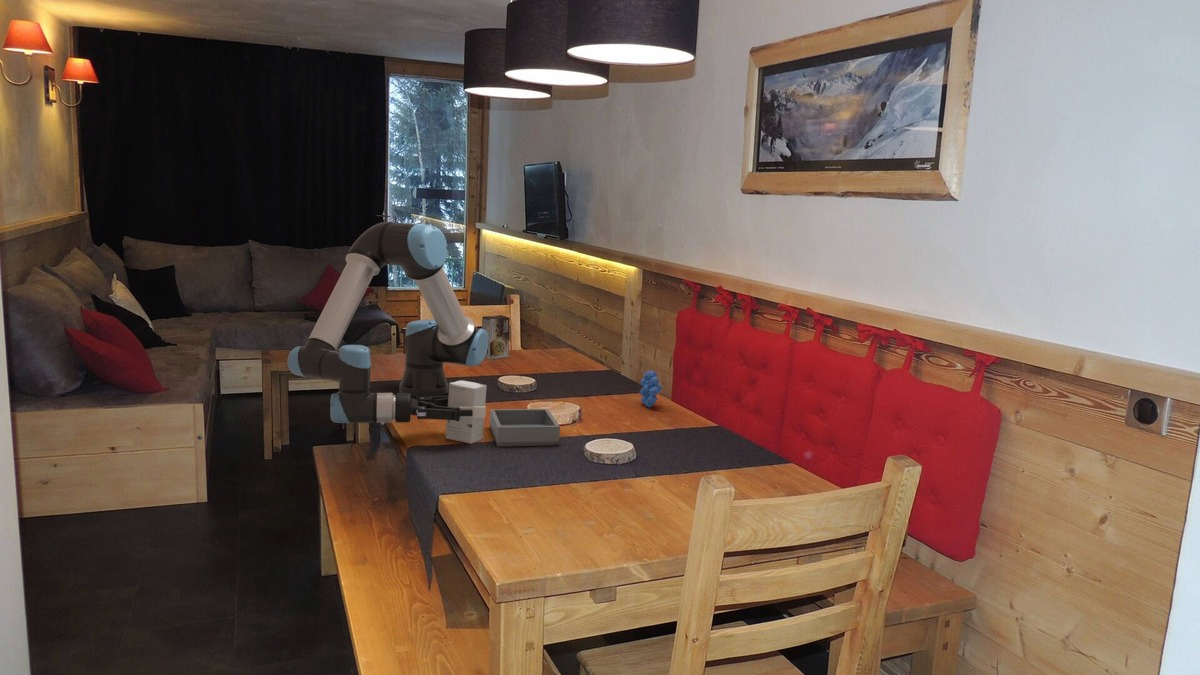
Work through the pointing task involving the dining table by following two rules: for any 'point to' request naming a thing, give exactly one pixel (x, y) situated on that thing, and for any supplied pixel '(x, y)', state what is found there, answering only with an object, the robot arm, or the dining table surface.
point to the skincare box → (466, 397)
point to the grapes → (650, 388)
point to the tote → (524, 427)
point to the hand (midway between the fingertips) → (483, 407)
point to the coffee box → (497, 336)
